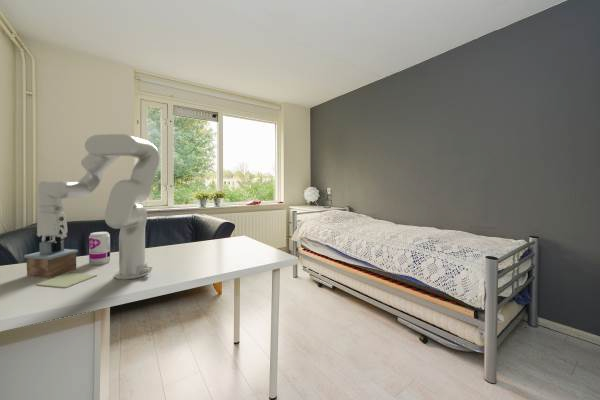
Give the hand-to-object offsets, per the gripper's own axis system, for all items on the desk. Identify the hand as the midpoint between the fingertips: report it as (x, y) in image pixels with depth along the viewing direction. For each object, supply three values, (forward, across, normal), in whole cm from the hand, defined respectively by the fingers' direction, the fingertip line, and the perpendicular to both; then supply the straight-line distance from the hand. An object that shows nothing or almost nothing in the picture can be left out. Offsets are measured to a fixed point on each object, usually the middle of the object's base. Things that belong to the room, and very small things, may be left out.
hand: (52, 250), depth 111 cm
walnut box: (+10, 0, 0) cm, 10 cm away
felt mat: (+10, -14, +6) cm, 18 cm away
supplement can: (+10, -7, -16) cm, 20 cm away
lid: (+3, 0, 0) cm, 3 cm away
